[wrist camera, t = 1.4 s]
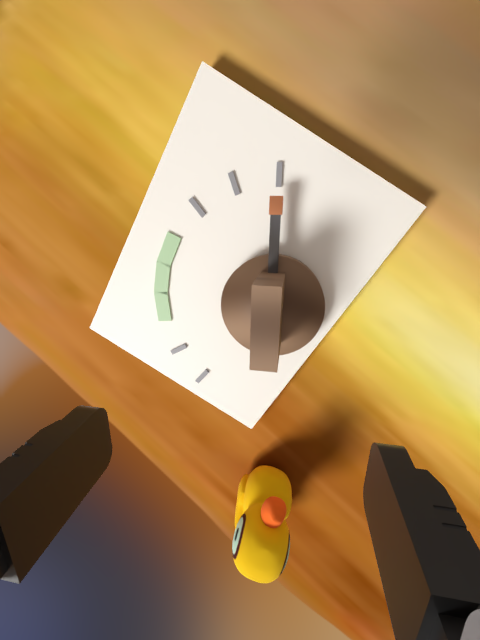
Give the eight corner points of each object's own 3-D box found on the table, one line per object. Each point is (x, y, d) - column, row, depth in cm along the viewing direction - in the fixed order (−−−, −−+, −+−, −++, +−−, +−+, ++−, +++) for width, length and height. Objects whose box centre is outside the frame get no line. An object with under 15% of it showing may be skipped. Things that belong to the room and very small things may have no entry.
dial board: (418, 207, 22) (427, 206, 21) (253, 419, 30) (251, 430, 29) (208, 71, 22) (201, 59, 20) (99, 322, 30) (88, 328, 28)
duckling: (258, 426, 31) (240, 518, 21) (309, 445, 30) (315, 546, 21) (229, 504, 35) (204, 610, 25) (274, 521, 34) (265, 635, 25)
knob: (318, 353, 25) (324, 394, 19) (224, 345, 26) (203, 381, 21) (335, 197, 21) (349, 190, 16) (223, 197, 23) (198, 190, 17)
